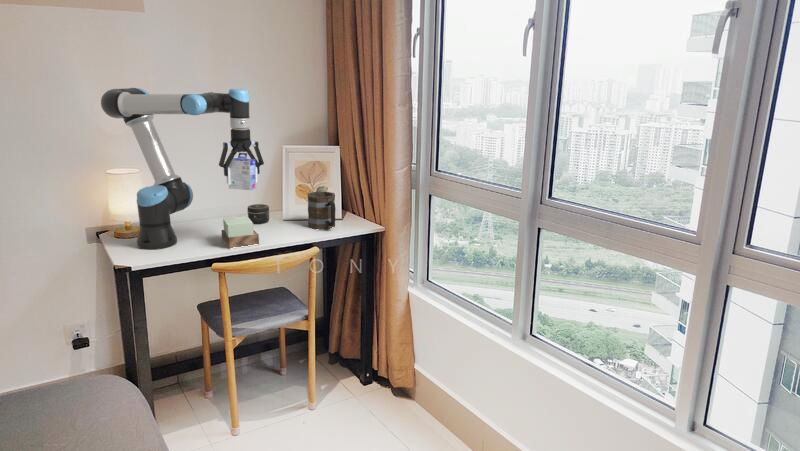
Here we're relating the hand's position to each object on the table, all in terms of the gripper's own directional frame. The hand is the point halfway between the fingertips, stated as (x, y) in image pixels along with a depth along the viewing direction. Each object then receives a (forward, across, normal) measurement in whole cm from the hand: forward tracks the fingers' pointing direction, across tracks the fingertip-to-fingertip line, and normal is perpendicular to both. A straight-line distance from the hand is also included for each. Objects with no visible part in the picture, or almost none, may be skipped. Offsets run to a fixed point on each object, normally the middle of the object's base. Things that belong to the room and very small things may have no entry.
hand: (242, 182), depth 230 cm
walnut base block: (+26, -2, -1) cm, 26 cm away
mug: (+25, +38, +4) cm, 46 cm away
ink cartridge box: (+3, 0, 0) cm, 3 cm away
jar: (+26, +15, +27) cm, 40 cm away
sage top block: (+21, -3, -1) cm, 21 cm away
